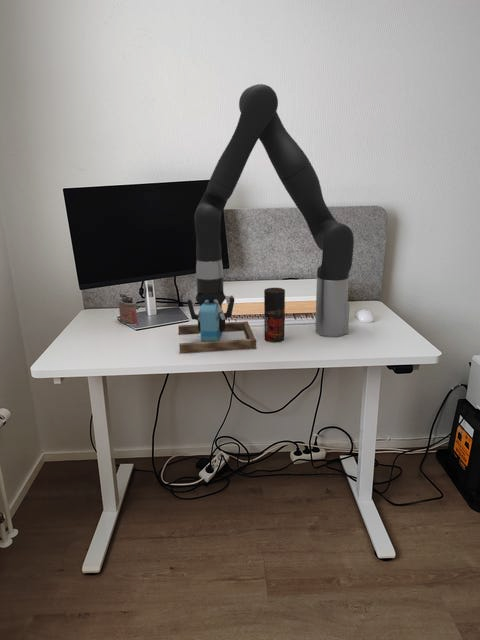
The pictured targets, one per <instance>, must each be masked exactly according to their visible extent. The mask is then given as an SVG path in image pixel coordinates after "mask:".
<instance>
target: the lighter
mask: <svg viewBox="0 0 480 640" xmlns="http://www.w3.org/2000/svg"><path fill="white" fill-rule="evenodd" d="M119 297H120V298H119V299H118V300H117V303H118V308H119V311H118V312H119V323H121V324H122V325H125V326H127V325H126V324H137V323H138V324H139V322H138V315H137V314H138V313H137V302H136V301H134V299H133V298H134V297H133V295H131V294H130V293H124V292H120V293H119Z"/></svg>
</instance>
